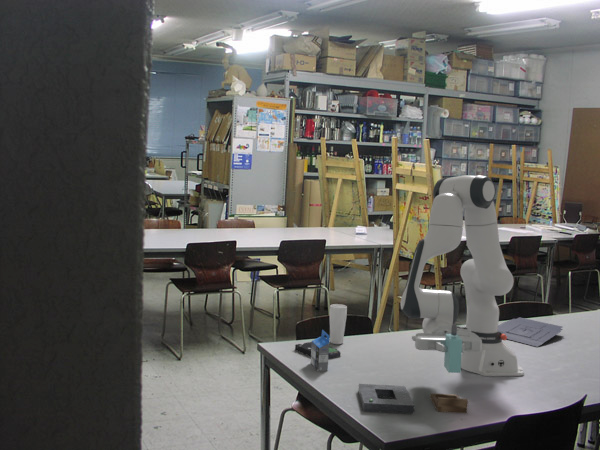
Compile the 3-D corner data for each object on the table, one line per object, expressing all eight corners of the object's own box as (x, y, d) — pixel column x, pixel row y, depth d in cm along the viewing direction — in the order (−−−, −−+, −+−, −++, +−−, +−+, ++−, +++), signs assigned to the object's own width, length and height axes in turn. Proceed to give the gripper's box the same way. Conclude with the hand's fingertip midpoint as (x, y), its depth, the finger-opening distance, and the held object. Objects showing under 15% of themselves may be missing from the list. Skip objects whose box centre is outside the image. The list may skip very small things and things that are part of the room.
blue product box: (309, 363, 222) (311, 329, 221) (320, 363, 223) (322, 329, 222) (317, 371, 213) (319, 336, 212) (328, 371, 214) (330, 336, 213)
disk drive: (294, 351, 237) (319, 362, 225) (294, 344, 236) (320, 354, 225) (315, 347, 243) (341, 357, 232) (315, 340, 243) (341, 350, 231)
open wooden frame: (457, 399, 194) (458, 386, 193) (466, 413, 183) (467, 400, 182) (430, 397, 194) (431, 385, 193) (437, 411, 183) (438, 398, 182)
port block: (404, 393, 196) (405, 384, 196) (413, 413, 180) (414, 404, 180) (358, 391, 196) (359, 382, 196) (363, 411, 180) (364, 401, 180)
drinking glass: (347, 342, 250) (350, 305, 249) (339, 346, 244) (342, 308, 243) (333, 339, 254) (335, 303, 252) (324, 343, 248) (326, 305, 247)
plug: (455, 366, 190) (457, 321, 189) (460, 372, 184) (462, 327, 183) (444, 365, 190) (446, 321, 189) (448, 372, 184) (451, 326, 183)
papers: (567, 333, 278) (567, 325, 278) (537, 353, 258) (538, 344, 257) (515, 322, 295) (515, 314, 295) (483, 339, 275) (483, 331, 274)
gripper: (410, 326, 200) (419, 338, 186) (474, 328, 200) (487, 340, 186) (410, 345, 200) (418, 359, 187) (473, 347, 200) (486, 361, 187)
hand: (453, 350), depth 186 cm, fingers closed on plug, 3 cm apart
